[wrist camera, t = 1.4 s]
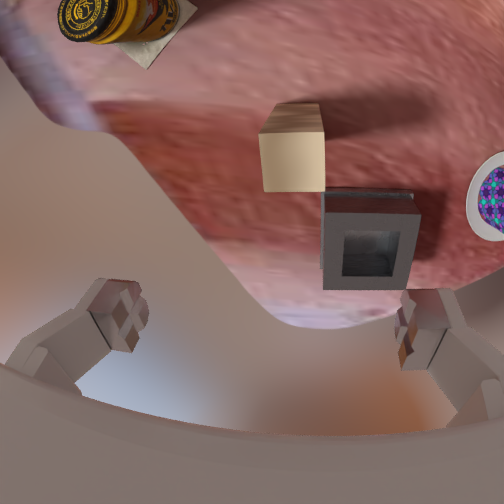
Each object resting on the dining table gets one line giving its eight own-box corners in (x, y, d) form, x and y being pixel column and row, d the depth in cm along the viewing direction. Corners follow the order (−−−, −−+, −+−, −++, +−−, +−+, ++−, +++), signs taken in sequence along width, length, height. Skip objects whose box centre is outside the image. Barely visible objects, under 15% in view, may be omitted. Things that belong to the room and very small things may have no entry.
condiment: (198, 8, 23) (139, -9, 14) (146, 69, 28) (74, 88, 18) (149, -26, 21) (77, -46, 12) (103, 35, 26) (24, 44, 16)
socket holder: (411, 189, 31) (424, 212, 27) (399, 264, 36) (407, 291, 32) (320, 187, 33) (322, 209, 29) (320, 263, 38) (320, 291, 34)
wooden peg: (318, 103, 28) (324, 132, 18) (319, 141, 30) (325, 191, 20) (276, 104, 28) (258, 133, 19) (279, 142, 31) (264, 192, 21)
